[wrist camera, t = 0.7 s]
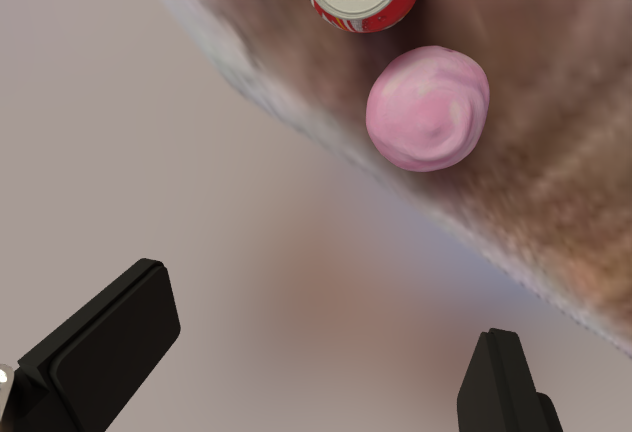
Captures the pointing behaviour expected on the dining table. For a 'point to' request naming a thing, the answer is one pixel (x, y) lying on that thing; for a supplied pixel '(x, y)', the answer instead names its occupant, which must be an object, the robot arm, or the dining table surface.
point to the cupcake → (428, 108)
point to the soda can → (363, 13)
